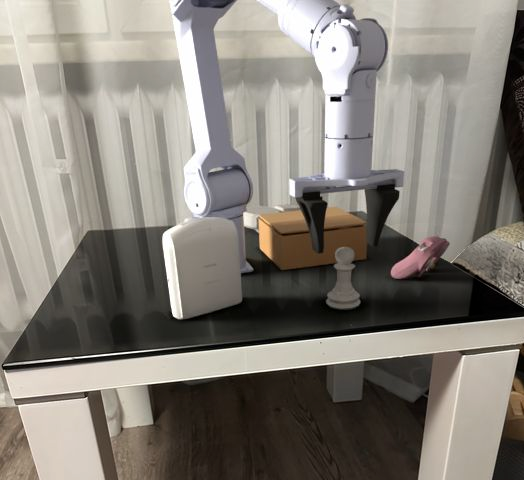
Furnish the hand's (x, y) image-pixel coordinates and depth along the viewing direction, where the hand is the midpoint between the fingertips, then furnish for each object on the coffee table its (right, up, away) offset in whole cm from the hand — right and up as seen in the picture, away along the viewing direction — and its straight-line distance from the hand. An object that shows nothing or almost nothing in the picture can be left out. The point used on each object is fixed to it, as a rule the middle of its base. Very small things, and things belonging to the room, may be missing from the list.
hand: (345, 247), depth 71 cm
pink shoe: (+14, -2, +13) cm, 19 cm away
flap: (-3, +10, +24) cm, 27 cm away
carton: (-2, +4, +24) cm, 25 cm away
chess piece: (0, -7, +4) cm, 8 cm away
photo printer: (-18, -8, +4) cm, 20 cm away
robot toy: (-9, +11, +40) cm, 43 cm away
